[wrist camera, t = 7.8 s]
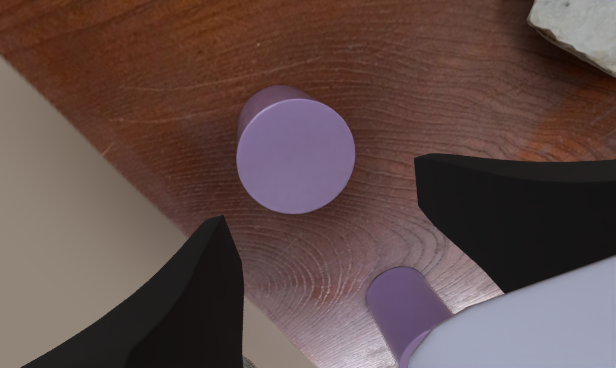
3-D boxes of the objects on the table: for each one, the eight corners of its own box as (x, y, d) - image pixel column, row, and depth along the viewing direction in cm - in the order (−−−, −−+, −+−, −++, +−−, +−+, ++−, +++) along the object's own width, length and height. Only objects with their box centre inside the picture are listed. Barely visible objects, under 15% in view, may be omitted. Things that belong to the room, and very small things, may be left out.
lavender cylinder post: (247, 177, 20) (250, 225, 14) (227, 93, 18) (223, 110, 12) (327, 162, 20) (359, 201, 15) (318, 78, 18) (351, 89, 13)
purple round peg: (367, 323, 27) (399, 392, 21) (363, 275, 25) (398, 338, 19) (423, 308, 27) (469, 371, 22) (425, 259, 25) (475, 316, 20)
